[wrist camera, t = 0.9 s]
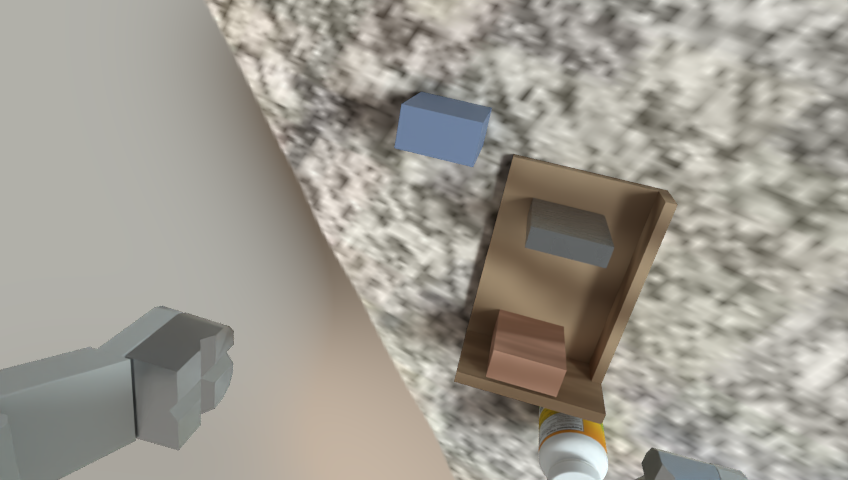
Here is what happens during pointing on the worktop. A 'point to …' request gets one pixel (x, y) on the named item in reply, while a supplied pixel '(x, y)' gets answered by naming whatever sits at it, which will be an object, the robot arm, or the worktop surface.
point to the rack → (559, 291)
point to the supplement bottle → (571, 447)
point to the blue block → (442, 128)
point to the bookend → (568, 233)
